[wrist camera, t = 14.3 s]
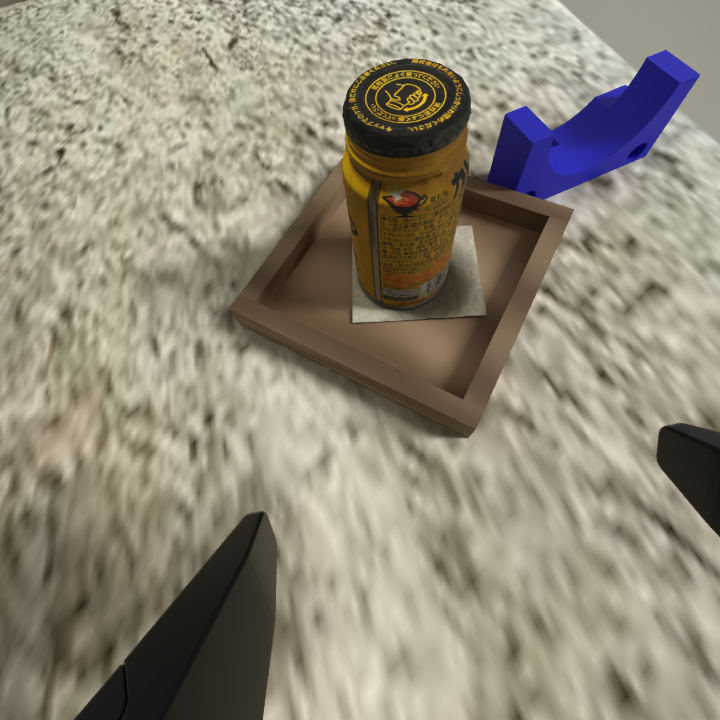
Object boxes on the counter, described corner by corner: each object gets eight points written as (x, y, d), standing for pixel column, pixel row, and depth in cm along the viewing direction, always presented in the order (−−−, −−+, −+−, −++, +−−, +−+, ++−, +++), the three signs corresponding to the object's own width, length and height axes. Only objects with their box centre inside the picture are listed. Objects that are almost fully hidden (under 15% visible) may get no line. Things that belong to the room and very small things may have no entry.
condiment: (352, 235, 28) (325, 49, 17) (471, 227, 28) (522, 29, 17) (352, 324, 25) (320, 169, 14) (485, 317, 25) (559, 150, 14)
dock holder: (468, 438, 23) (475, 429, 20) (241, 325, 27) (229, 308, 25) (560, 232, 28) (574, 209, 26) (358, 164, 32) (355, 140, 30)
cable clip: (605, 123, 32) (649, 38, 26) (644, 158, 30) (700, 74, 24) (474, 177, 30) (492, 100, 25) (506, 216, 29) (533, 143, 23)
